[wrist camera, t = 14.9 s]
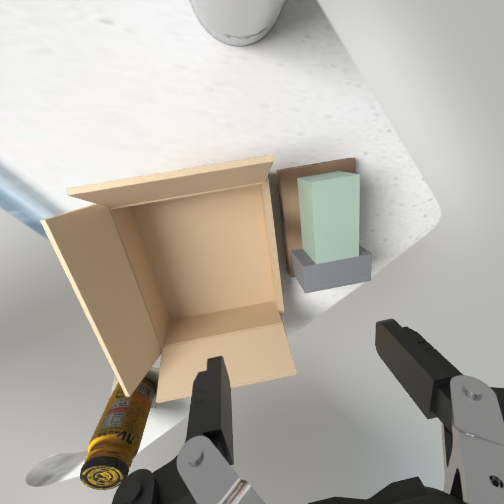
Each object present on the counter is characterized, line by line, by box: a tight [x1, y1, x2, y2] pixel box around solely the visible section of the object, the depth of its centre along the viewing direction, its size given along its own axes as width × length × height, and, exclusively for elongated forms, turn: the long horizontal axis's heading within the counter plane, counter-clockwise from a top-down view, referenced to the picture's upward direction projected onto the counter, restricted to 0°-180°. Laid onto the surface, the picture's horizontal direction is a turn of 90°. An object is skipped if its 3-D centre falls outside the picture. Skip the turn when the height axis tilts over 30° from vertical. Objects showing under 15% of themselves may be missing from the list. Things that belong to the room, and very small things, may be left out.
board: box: [277, 158, 355, 277], centre depth 32 cm, size 14×9×2 cm, turn 9°
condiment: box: [80, 367, 160, 490], centre depth 34 cm, size 7×8×12 cm
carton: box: [40, 155, 297, 403], centre depth 28 cm, size 22×18×12 cm
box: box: [292, 171, 372, 293], centre depth 29 cm, size 12×8×5 cm, turn 9°
